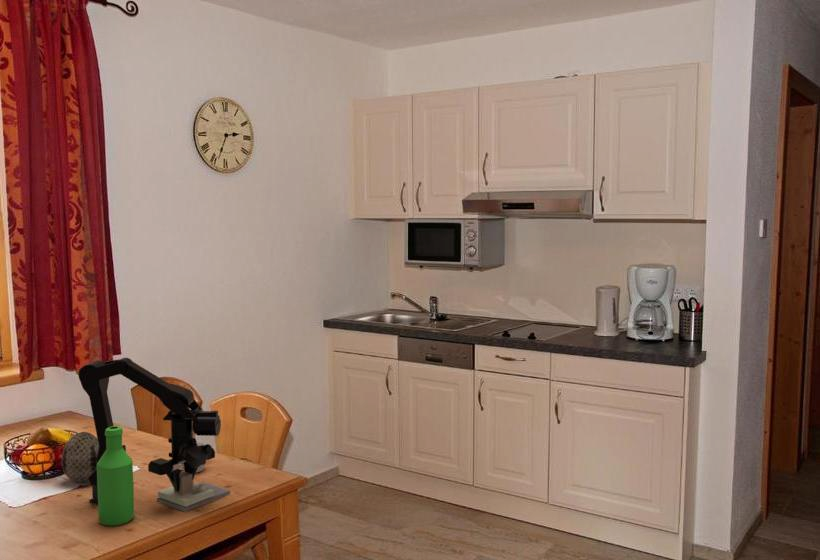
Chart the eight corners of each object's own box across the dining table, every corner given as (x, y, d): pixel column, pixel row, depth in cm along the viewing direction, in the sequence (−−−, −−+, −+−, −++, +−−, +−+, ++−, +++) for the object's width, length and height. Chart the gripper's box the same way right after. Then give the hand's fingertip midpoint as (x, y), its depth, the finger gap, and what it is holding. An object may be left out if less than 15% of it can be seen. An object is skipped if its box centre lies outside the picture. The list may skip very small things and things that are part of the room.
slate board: (184, 511, 206) (184, 497, 206) (156, 501, 213) (156, 487, 212) (230, 493, 219) (229, 480, 219) (202, 484, 226) (202, 471, 225)
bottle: (112, 530, 194) (109, 434, 192) (91, 522, 199) (88, 429, 196) (141, 518, 202) (138, 426, 199) (120, 511, 206) (117, 421, 204)
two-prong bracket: (185, 506, 206) (185, 483, 205) (157, 496, 213) (157, 474, 212) (214, 495, 214) (214, 472, 214) (187, 486, 221) (186, 464, 220)
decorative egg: (54, 482, 227) (52, 433, 225) (91, 471, 236) (89, 424, 235) (75, 491, 220) (73, 441, 218) (112, 480, 229) (111, 431, 228)
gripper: (172, 449, 199) (173, 506, 200) (227, 432, 214) (228, 485, 215) (146, 441, 205) (147, 497, 207) (201, 425, 220) (202, 477, 222)
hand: (183, 489), depth 213 cm, fingers closed on two-prong bracket, 4 cm apart
